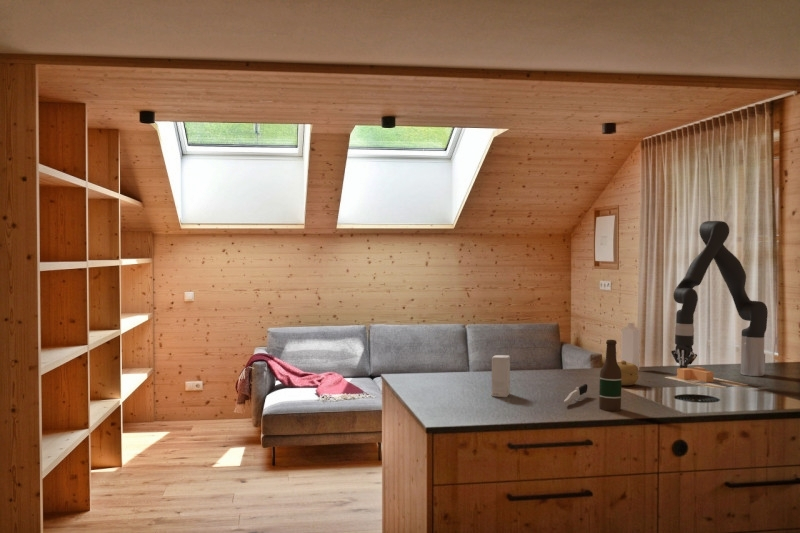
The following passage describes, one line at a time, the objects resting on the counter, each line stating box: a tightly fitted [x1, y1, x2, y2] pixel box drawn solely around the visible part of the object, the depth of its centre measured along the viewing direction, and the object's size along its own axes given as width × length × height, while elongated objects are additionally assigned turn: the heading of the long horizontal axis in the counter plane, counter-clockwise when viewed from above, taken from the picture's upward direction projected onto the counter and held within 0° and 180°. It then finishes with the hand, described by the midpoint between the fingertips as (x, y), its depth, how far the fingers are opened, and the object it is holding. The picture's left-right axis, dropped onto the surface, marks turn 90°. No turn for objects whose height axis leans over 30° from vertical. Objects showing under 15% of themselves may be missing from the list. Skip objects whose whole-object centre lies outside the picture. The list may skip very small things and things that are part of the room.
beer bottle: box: [598, 339, 622, 412], centre depth 251 cm, size 8×8×24 cm
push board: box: [664, 375, 748, 389], centre depth 302 cm, size 20×26×1 cm
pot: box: [617, 360, 639, 387], centre depth 297 cm, size 12×12×10 cm
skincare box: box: [491, 354, 511, 398], centre depth 272 cm, size 8×6×15 cm
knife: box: [563, 383, 588, 407], centre depth 262 cm, size 25×2×5 cm, turn 148°
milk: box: [620, 322, 641, 372], centre depth 332 cm, size 6×6×22 cm
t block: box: [676, 366, 715, 382], centre depth 306 cm, size 12×12×4 cm
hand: (683, 373), depth 313 cm, fingers closed
